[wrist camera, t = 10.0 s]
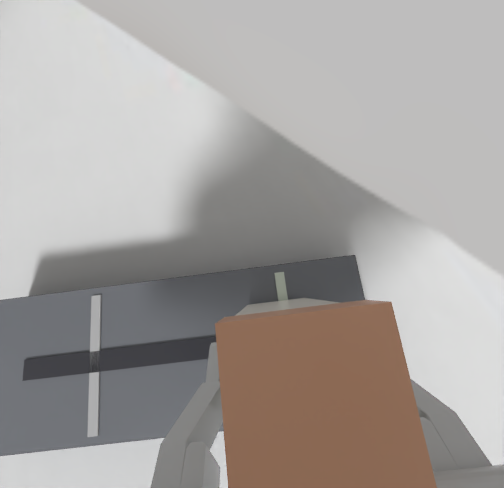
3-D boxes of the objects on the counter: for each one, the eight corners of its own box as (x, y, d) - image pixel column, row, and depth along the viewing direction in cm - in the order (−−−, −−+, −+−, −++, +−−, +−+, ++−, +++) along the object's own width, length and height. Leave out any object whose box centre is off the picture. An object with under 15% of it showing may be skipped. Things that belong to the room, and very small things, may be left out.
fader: (257, 388, 13) (241, 647, 3) (247, 302, 14) (214, 323, 4) (318, 381, 13) (472, 628, 3) (303, 295, 14) (391, 301, 4)
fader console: (14, 429, 16) (-43, 461, 13) (26, 301, 18) (-22, 302, 15) (366, 389, 16) (390, 413, 13) (339, 261, 18) (355, 254, 14)
